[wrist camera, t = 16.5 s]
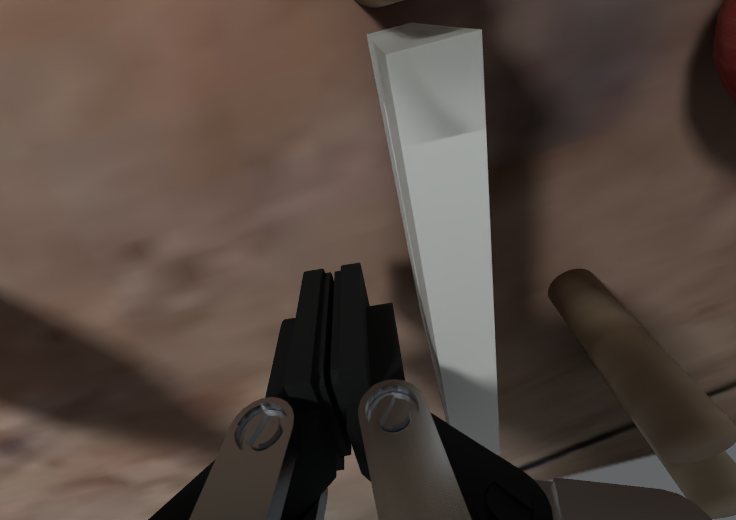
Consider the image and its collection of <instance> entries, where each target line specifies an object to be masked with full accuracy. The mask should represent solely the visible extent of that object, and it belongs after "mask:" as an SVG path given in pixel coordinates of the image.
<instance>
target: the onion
mask: <svg viewBox="0 0 736 520" xmlns="http://www.w3.org/2000/svg"><path fill="white" fill-rule="evenodd" d="M713 58H714V61H715V64H716V67H717V69H718V72H719V75H720V78H721V81H722V83H723V86H724V87H725V89H726V90H727V91H728V93H729V94H730V96H731V97H732V98H733V100H734V101H735V102H736V0H723V3H722V5H721V8H720V10H719V12H718V15H717V22H716V31H715V41H714V51H713Z"/></svg>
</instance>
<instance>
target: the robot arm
mask: <svg viewBox="0 0 736 520" xmlns="http://www.w3.org/2000/svg"><path fill="white" fill-rule="evenodd" d="M351 444H352V447H353V450H354V453H355V456H356V459H357V462H358V464H359V467H360V470H361V473H362V474H363V475H364V476H365V477H366V478H367V479H368V480H369V481H370V482H371V483H372V489H373V494H374V499H375V504H376V509H377V514H378V519H379V520H712V518H711V517H710V516H709V515H707V514H706V513H705V512H704V511H703V510H702V509H701V508H700V507H699V506H697V505H696V504H695V503H693V502H692V501H690V500H688V499H686V498H685V497H683V496H681V495H679V494H677V493H673V492H669V491H666V490H661V489H654V488H644V487H636V486H627V485H618V484H609V483H600V482H591V481H582V480H573V479H564V478H555V477H554V478H553V482H551V481H542V480H533V479H532V478H531V477H530V476H528V475H527V474H526V473H525V472H523V471H522V470H520V469H518V468H517V467H515V466H514V465H512V464H511V463H509V462H507V461H506V460H504V459H503V458H501V457H500V456H498V455H496V454H495V453H493V452H492V451H490V450H489V449H487V448H485V447H484V446H482V445H481V444H479V443H478V442H476V441H474V440H473V439H471V438H470V437H468V436H467V435H465V434H463V433H462V432H460V431H459V430H457V429H456V428H454V427H452V426H451V425H449V424H448V423H446V422H445V421H443V420H441V419H440V418H438V417H437V416H435V415H434V414H432V413H430V411H429V408H428V406H427V403H426V400H425V398H424V396H423V395H422V393H421V391H420V390H419V389H418V388H416V387H415V386H414V385H413V384H411V383H409V382H406V381H405V377H404V371H403V365H402V359H401V352H400V346H399V340H398V334H397V328H396V322H395V316H394V310H393V304H392V303H387V304H381V305H375V306H369V301H368V297H367V292H366V287H365V283H364V278H363V273H362V269H361V265H360V263H355V264H349V265H343V266H341V271H336V272H335V278H334V280H333V276H332V274H331V272H330V273H325V271H324V269H318V270H312V271H305V272H304V274H303V279H302V285H301V291H300V296H299V302H298V308H297V313H296V318H292V319H285V320H283V322H282V324H281V328H280V333H279V337H278V342H277V347H276V351H275V356H274V360H273V365H272V370H271V374H270V379H269V383H268V388H267V392H266V397H265V398H262V399H260V400H257V401H255V402H252V403H251V404H249V405H248V406H247V407H245V408H244V409H243V410H242V411H241V412H240V413H239V414H238V415H237V416H236V417H235V419H234V420H233V422H232V424H231V426H230V428H229V430H228V432H227V434H226V437H225V439H224V441H223V444H222V446H221V448H220V450H219V453H218V455H217V457H216V459H215V460H214V461H213V462H212V463H211V464H210V465H209V466H208V467H206V468H205V469H204V470H203V471H202V472H201V473H200V474H199V475H198V476H196V477H195V478H194V479H193V480H192V481H191V482H190V483H189V484H187V485H186V486H185V487H184V488H183V489H182V490H181V491H180V492H179V493H177V494H176V495H175V496H174V497H173V498H172V499H171V500H170V501H169V502H167V503H166V504H165V505H164V506H163V507H162V508H161V509H160V510H159V511H157V512H156V513H155V514H154V515H153V516H152V517H151V518H150V519H148V520H324V515H325V509H326V504H327V496H328V488H327V487H328V486H329V485H330V484H331V483H332V481H333V480H334V479H335V478H336V471H337V470H344V456H347V455H351Z"/></svg>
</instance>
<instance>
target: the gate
mask: <svg viewBox="0 0 736 520" xmlns="http://www.w3.org/2000/svg"><path fill="white" fill-rule="evenodd" d="M367 39H368V44H369V50H370V55H371V60H372V65H373V70H374V75H375V81H376V86H377V91H378V96H379V101H380V106H381V112H382V117H383V122H384V127H385V132H386V137H387V143H388V148H389V153H390V158H391V163H392V168H393V174H394V179H395V184H396V189H397V194H398V199H399V205H400V210H401V215H402V220H403V225H404V230H405V236H406V241H407V246H408V251H409V256H410V261H411V267H412V272H413V277H414V282H415V287H416V292H417V298H418V303H419V308H420V313H421V317H422V321H423V325H424V329H425V334H426V338H427V342H428V346H429V350H430V354H431V359H432V363H433V367H434V371H435V375H436V380H437V384H438V388H439V392H440V396H441V401H442V405H443V409H444V413H445V417H446V422H447V423H448V424H449V425H451V426H452V427H454V428H456V429H457V430H459V431H460V432H462V433H463V434H465V435H467V436H468V437H470V438H471V439H473V440H474V441H476V442H478V443H479V444H481V445H482V446H484V447H485V448H487V449H489V450H490V451H492V452H493V453H495V454H496V455H500V440H499V417H498V394H497V370H496V347H495V324H494V301H493V277H492V254H491V231H490V208H489V184H488V161H487V138H486V115H485V91H484V68H483V45H482V29H472V28H461V27H451V26H441V25H431V24H421V23H408V24H404V25H400V26H396V27H393V28H389V29H385V30H381V31H378V32H374V33H370V34H367Z"/></svg>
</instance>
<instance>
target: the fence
mask: <svg viewBox="0 0 736 520" xmlns="http://www.w3.org/2000/svg"><path fill="white" fill-rule="evenodd" d="M355 1H356V2H357V3H359V4H361V5H363V6H366V7H370V8H379V7H383V6H387V5H390V4H394V3H397V2H400V1H404V0H355ZM548 296H549V299H550V300H551V302H552V303H553V305H554V306H555V307H556V309H557V310H558V312H559V313H560V314H561V316H562V317H563V319H564V320H565V321H566V323H567V324H568V326H569V327H570V329H571V330H572V331H573V333H574V334H575V336H576V337H577V338H578V340H579V341H580V343H581V344H582V346H583V347H584V348H585V350H586V351H587V355H588V358H589V359H590V361H591V362H592V364H593V365H594V366H595V368H596V369H597V371H598V372H599V374H600V375H601V376H602V378H603V379H604V381H605V382H606V384H607V385H608V386H609V388H610V389H611V391H612V392H613V394H614V395H615V396H616V398H617V399H618V401H619V402H620V404H621V405H622V406H623V408H624V409H625V411H626V412H627V414H628V415H629V416H630V418H631V419H632V421H633V422H634V424H635V425H636V426H637V428H638V429H639V431H640V432H641V434H642V435H643V436H644V438H645V439H646V441H647V442H648V444H649V445H650V446H651V448H652V449H653V451H654V452H655V454H656V455H657V456H658V458H659V459H660V461H661V462H662V464H663V465H664V466H665V468H666V469H667V471H668V472H669V474H670V475H671V476H672V478H673V479H674V481H675V482H676V484H677V485H678V486H679V488H680V489H681V491H682V492H683V493H684V495H685V496H686V498H687V499H688V500H690V501H692V502H693V503H695V504H696V505H697V506H699V507H700V508H701V509H702V510H703V511H704V512H705V513H706V514H707V515H709V516H710V517H711V518H712V519H717V518H725V517H729V516H733V515H736V463H735V462H734V461H733V460H732V458H731V457H730V456H729V455H728V454H727V453H726V451H725V450H727V449H728V448H730V447H731V446H732V445H733V444H734V443H735V442H736V425H735V424H734V423H733V422H732V421H731V420H730V419H729V418H728V417H727V416H726V415H725V414H724V412H723V411H722V410H721V409H720V408H719V407H718V406H717V405H716V404H715V403H714V402H713V401H712V400H711V399H710V398H709V397H708V395H707V394H706V393H705V392H704V391H703V390H702V389H701V388H700V387H699V386H698V385H697V384H696V383H695V382H694V381H693V380H692V379H691V377H690V376H689V375H688V374H687V373H686V372H685V371H684V370H683V369H682V368H681V367H680V366H679V365H678V364H677V363H676V362H675V361H674V359H673V358H672V357H671V356H670V355H669V354H668V353H667V352H666V351H665V350H664V349H663V348H662V347H661V346H660V345H659V344H658V343H657V341H656V340H655V339H654V338H653V337H652V336H651V335H650V334H649V333H648V332H647V331H646V330H645V329H644V328H643V327H642V326H641V325H640V323H639V322H638V321H637V320H636V319H635V318H634V317H633V316H632V315H631V314H630V313H629V312H628V311H627V310H626V309H625V308H624V307H623V305H622V304H621V303H620V302H619V301H618V300H617V299H616V298H615V297H614V296H613V295H612V294H611V293H610V292H609V291H608V290H607V288H606V287H605V286H604V285H603V284H602V283H601V282H600V281H599V280H598V279H597V278H596V277H595V276H594V275H593V274H592V273H591V272H590V271H588V270H585V269H574V270H570V271H567V272H565V273H563V274H561V275H560V276H558V277H557V278H556V279H555V280H554V281H553V282H552V283H551V285H550V287H549V290H548Z"/></svg>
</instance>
